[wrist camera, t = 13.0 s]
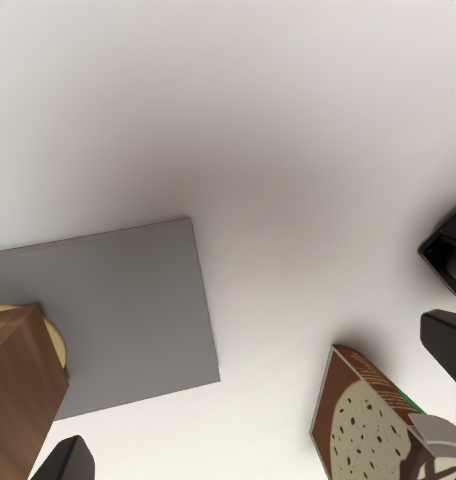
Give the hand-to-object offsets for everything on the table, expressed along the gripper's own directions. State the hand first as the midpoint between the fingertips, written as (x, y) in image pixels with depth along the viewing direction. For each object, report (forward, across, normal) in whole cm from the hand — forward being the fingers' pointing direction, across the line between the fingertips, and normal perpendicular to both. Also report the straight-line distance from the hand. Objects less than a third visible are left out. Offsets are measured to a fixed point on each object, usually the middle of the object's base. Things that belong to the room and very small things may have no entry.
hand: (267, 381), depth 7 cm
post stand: (+13, +9, +4) cm, 16 cm away
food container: (+12, -9, +17) cm, 23 cm away
